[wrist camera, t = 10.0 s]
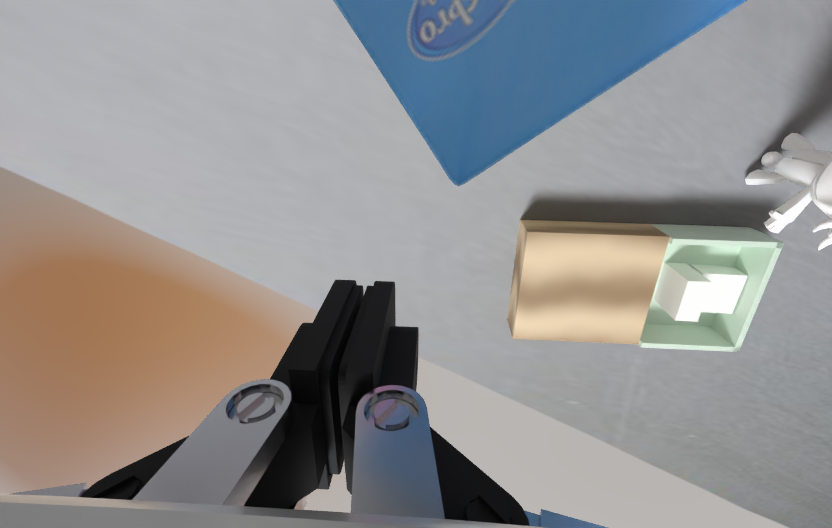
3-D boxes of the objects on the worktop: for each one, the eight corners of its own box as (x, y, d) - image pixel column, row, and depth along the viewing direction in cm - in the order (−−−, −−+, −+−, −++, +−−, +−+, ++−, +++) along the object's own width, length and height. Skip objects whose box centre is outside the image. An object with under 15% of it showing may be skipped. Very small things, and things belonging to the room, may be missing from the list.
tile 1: (688, 281, 35) (712, 281, 35) (664, 262, 38) (686, 263, 38) (674, 320, 36) (697, 321, 36) (653, 299, 40) (673, 300, 40)
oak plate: (520, 219, 38) (527, 231, 35) (650, 223, 37) (670, 236, 34) (507, 319, 42) (512, 338, 39) (623, 324, 42) (638, 344, 39)
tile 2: (748, 275, 36) (733, 266, 38) (702, 273, 36) (690, 264, 38) (732, 313, 38) (718, 303, 40) (688, 311, 38) (677, 300, 40)
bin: (650, 223, 37) (673, 238, 34) (750, 227, 37) (784, 242, 33) (623, 324, 42) (640, 347, 38) (712, 328, 41) (738, 351, 38)
